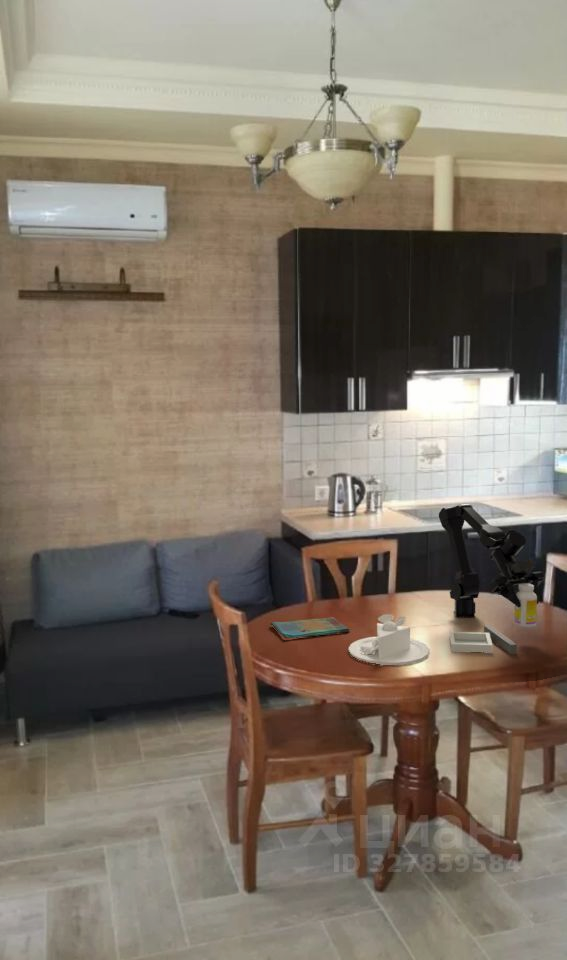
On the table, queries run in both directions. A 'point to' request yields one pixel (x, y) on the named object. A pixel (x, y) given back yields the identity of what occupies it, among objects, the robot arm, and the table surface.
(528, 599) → the supplement bottle
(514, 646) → the long gray bar
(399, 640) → the dish
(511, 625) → the table surface
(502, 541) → the robot arm
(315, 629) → the dish towel
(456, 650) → the square cradle
